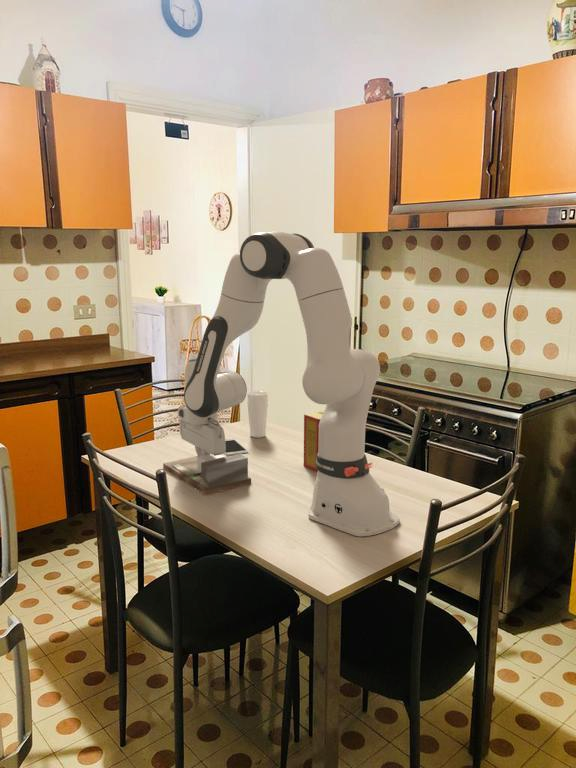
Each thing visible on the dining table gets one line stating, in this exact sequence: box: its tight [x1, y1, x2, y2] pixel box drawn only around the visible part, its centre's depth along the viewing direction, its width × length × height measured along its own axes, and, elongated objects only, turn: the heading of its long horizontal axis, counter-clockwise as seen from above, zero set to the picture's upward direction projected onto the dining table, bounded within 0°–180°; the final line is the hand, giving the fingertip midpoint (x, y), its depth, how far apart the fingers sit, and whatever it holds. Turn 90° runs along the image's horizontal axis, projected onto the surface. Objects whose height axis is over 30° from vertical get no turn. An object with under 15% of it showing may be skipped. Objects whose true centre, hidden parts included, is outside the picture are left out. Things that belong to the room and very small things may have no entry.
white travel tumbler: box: [247, 390, 269, 439], centre depth 213 cm, size 7×7×15 cm
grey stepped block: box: [162, 454, 252, 496], centre depth 176 cm, size 25×14×8 cm, turn 36°
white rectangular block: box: [194, 453, 226, 476], centre depth 173 cm, size 5×8×5 cm, turn 126°
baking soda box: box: [303, 410, 325, 473], centre depth 184 cm, size 10×6×16 cm
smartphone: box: [224, 438, 249, 457], centre depth 202 cm, size 7×16×1 cm, turn 23°
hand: (202, 461), depth 178 cm, fingers closed
